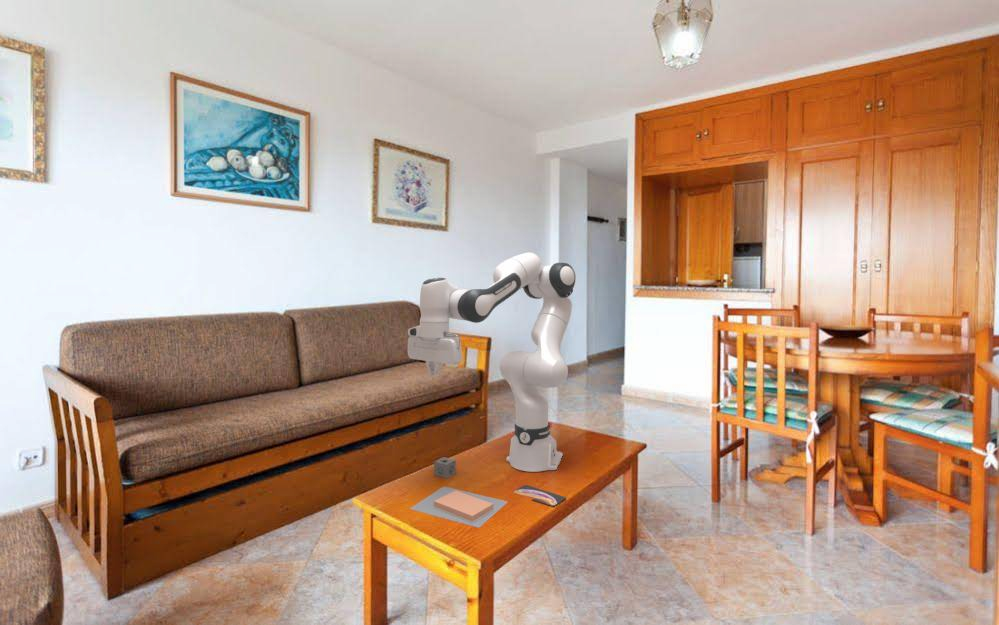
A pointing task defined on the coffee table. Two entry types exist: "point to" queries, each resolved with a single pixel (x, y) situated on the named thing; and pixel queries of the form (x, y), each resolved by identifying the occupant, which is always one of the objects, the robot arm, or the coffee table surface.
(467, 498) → the tile
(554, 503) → the smartphone
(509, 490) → the coffee table surface
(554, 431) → the coffee table surface
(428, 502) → the mat
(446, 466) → the dice cube
